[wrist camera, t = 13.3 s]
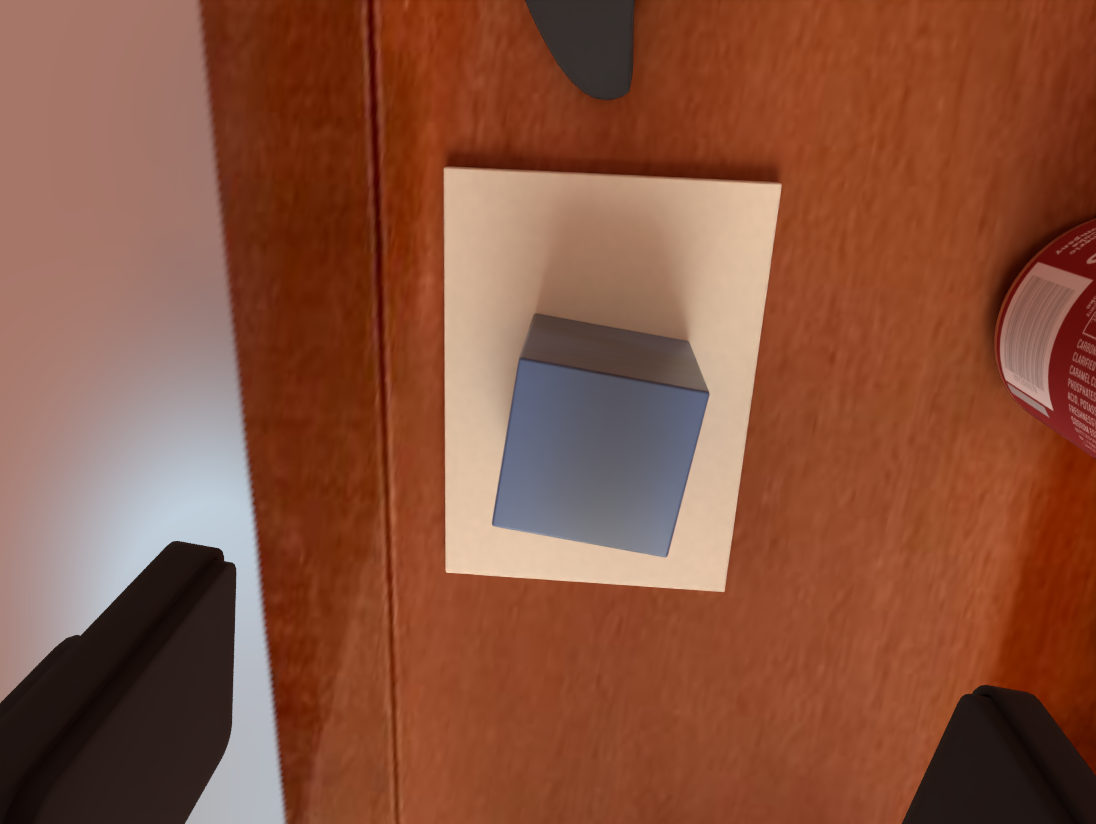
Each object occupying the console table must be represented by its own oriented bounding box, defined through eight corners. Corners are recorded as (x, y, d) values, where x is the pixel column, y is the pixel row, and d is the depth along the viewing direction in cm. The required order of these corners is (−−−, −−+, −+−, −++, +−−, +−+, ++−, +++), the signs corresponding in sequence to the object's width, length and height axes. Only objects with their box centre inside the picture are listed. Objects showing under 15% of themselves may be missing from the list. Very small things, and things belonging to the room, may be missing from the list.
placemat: (446, 166, 24) (443, 166, 24) (778, 181, 24) (782, 183, 23) (447, 565, 29) (445, 573, 28) (722, 584, 28) (724, 592, 28)
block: (510, 455, 27) (490, 526, 22) (534, 312, 25) (518, 357, 20) (655, 481, 27) (667, 559, 22) (690, 340, 25) (710, 392, 20)
